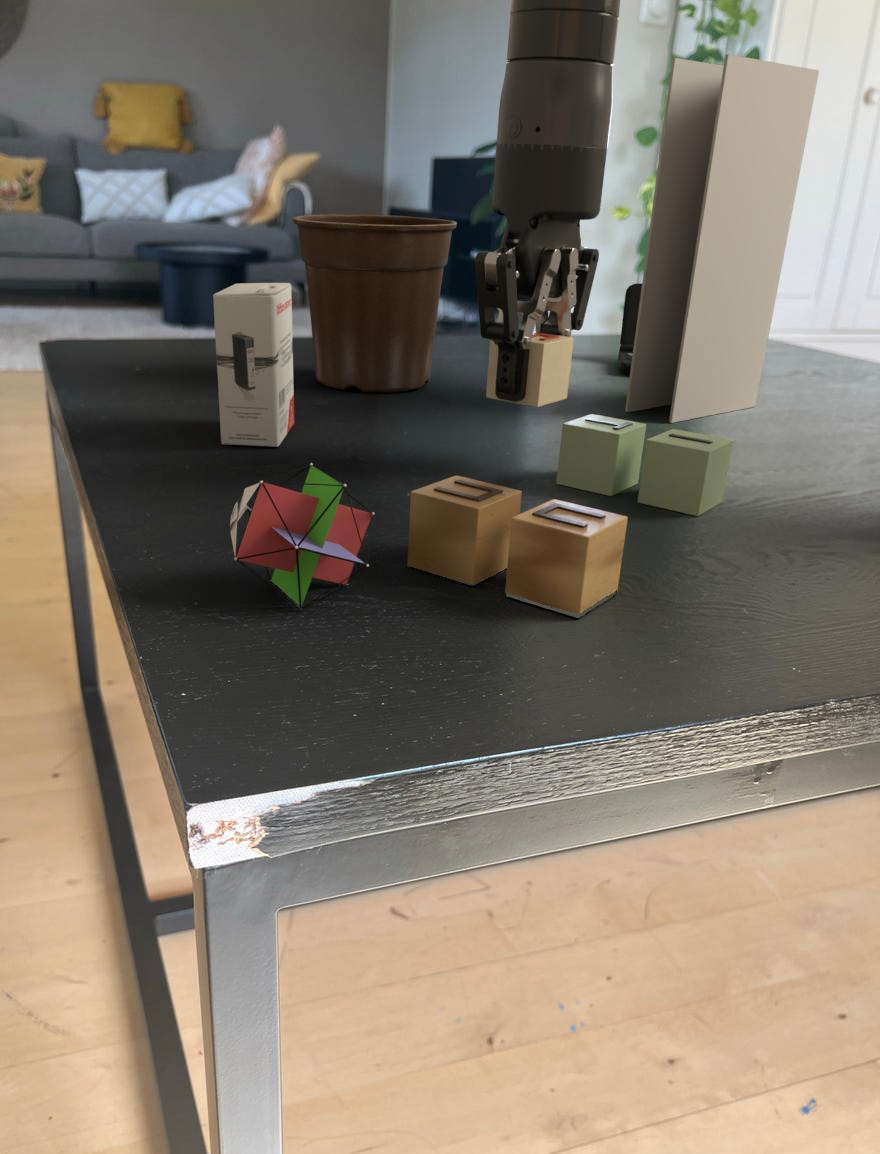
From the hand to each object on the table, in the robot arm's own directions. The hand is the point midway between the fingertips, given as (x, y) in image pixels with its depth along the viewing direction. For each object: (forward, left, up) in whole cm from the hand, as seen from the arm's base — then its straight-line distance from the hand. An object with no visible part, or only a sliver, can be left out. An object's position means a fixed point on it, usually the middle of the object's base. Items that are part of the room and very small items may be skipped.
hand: (527, 393), depth 74 cm
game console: (-27, -45, -6) cm, 53 cm away
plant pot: (+11, -32, -6) cm, 34 cm away
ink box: (+21, -8, -6) cm, 23 cm away
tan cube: (+7, +22, -6) cm, 23 cm away
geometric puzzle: (+16, +26, -6) cm, 31 cm away
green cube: (-5, +4, -6) cm, 9 cm away
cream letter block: (0, 0, 0) cm, 0 cm away
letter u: (+2, +26, -6) cm, 27 cm away
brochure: (-21, -23, -6) cm, 32 cm away
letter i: (-10, +8, -6) cm, 14 cm away
